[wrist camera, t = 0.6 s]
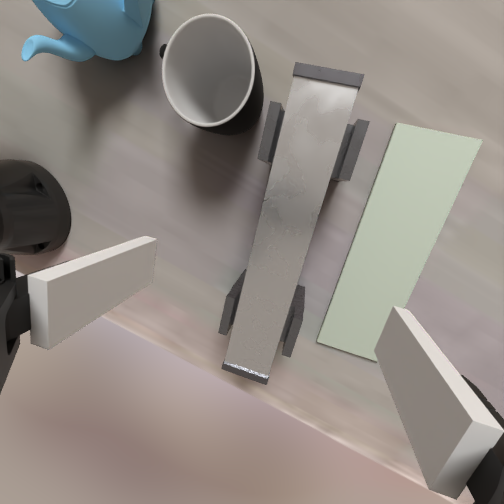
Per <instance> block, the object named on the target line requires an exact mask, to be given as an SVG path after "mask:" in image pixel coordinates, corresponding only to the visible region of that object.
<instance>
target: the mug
mask: <svg viewBox="0 0 504 504" xmlns="http://www.w3.org/2000/svg"><path fill="white" fill-rule="evenodd" d="M160 57H161V58H162V59H163V62H162V81H163V87H164V91H165V94H166V96H167V99H168V101H169V103H170V105H171V106H172V108H173V109H174V110H175V112H176V113H177V114H178V115H179V116H180V117H181V118H183V119H184V120H185V121H187V122H188V123H190V124H192V125H194V126H196V127H198V128H200V129H203V130H206V131H209V132H213V133H217V134H223V135H235V134H240V133H242V132H245V131H247V130H248V129H249V128H251V127H252V126H253V125H254V124H255V122H256V121H257V120H258V118H259V116H260V113H261V111H262V107H263V98H264V93H263V83H262V77H261V73H260V69H259V65H258V62H257V59H256V56H255V53H254V50H253V48H252V46H251V44H250V41H249V40H248V38H247V36H246V35H245V33H244V32H243V31H242V29H241V28H240V27H239V26H238V25H237V24H236V23H234V22H233V21H232V20H230V19H228V18H226V17H224V16H221V15H217V14H202V15H198V16H195V17H193V18H191V19H189V20H187V21H186V22H184V23H183V24H182V25H181V26H180V27H179V28H178V29H177V30H176V31H175V33H174V34H173V35H172V37H171V39H170V41H169V42H168V45H167V44H164V45H162V46H161V48H160Z"/></svg>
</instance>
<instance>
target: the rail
mask: <svg viewBox="0 0 504 504" xmlns="http://www.w3.org/2000/svg"><path fill="white" fill-rule="evenodd" d="M363 77H364V74H358V73H353V72H347V71H342V70H336V69H331V68H325V67H320V66H314V65H309V64H303V63H298V62H295V67H294V71H293V82H292V86H291V90H290V94H289V98H288V102H287V107H286V111H285V115H284V119H283V123H282V127H281V131H280V135H279V139H278V144H277V148H276V152H275V156H274V160H273V164H272V168H271V172H270V176H269V180H268V185H267V189H266V193H265V197H264V201H263V205H262V209H261V213H260V217H259V222H258V226H257V230H256V234H255V238H254V242H253V246H252V250H251V254H250V259H249V263H248V267H247V271H246V275H245V279H244V283H243V287H242V291H241V296H240V300H239V304H238V308H237V312H236V316H235V320H234V324H233V328H232V333H231V337H230V341H229V345H228V349H227V353H226V357H225V360H224V362H223V365H222V369H223V370H226V371H229V372H232V373H234V374H237V375H240V376H243V377H245V378H248V379H251V380H254V381H256V382H259V383H262V384H265V385H267V382H268V379H269V374H270V369H271V366H272V363H273V359H274V356H275V353H276V350H277V347H278V343H279V340H280V337H281V334H282V331H283V327H284V324H285V321H286V318H287V315H288V312H289V308H290V305H291V302H292V299H293V296H294V292H295V289H296V286H297V283H298V280H299V276H300V273H301V270H302V267H303V264H304V260H305V257H306V254H307V251H308V248H309V245H310V241H311V238H312V235H313V232H314V229H315V225H316V222H317V219H318V216H319V213H320V209H321V206H322V203H323V200H324V197H325V193H326V190H327V187H328V184H329V181H330V178H331V174H332V171H333V168H334V165H335V162H336V158H337V155H338V152H339V149H340V146H341V142H342V139H343V136H344V133H345V130H346V126H347V123H348V120H349V117H350V114H351V111H352V107H353V104H354V101H355V98H356V95H357V92H358V91H359V89H360V87H361V84H362V81H363Z"/></svg>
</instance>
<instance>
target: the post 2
mask: <svg viewBox="0 0 504 504" xmlns="http://www.w3.org/2000/svg"><path fill="white" fill-rule="evenodd" d="M284 115H285V111H284V110H283V107H282V104H281V103H277V102H272V101H270V105H269V110H268V114H267V119H266V123H265V128H264V132H263V136H262V141H261V145H260V150H259V154H258V159H259V160H261V161H263V162H265V163H268V164H270V165H272V164H273V160H274V156H275V152H276V148H277V144H278V139H279V135H280V131H281V127H282V123H283V119H284ZM369 122H370V121H365V120H360V119H358V120H357V121H356V122H355V123H354V125H350V124H347V126H346V130H345V133H344V136H343V139H342V142H341V146H340V149H339V152H338V155H337V158H336V162H335V165H334V168H333V171H332V174H331V178H330V179H332V180H336V181H350V179H351V176H352V173H353V170H354V167H355V164H356V161H357V158H358V155H359V152H360V149H361V146H362V143H363V140H364V137H365V134H366V131H367V128H368V125H369Z"/></svg>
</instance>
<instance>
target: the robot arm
mask: <svg viewBox="0 0 504 504" xmlns="http://www.w3.org/2000/svg"><path fill="white" fill-rule="evenodd" d="M70 220H71V218H70V209H69V204H68V201H67V198H66V196H65V193H64V191H63V189H62V188H61V186H60V184H59V183H58V182H57V180H56V179H55V178H54V177H53V176H52V175H51V174H50V173H49V172H48V171H47V170H46V169H44V168H43V167H41V166H40V165H38V164H36V163H33V162H30V161H23V160H1V161H0V393H1V391H2V388H3V386H4V383H5V381H6V378H7V375H8V373H9V370H10V368H11V365H12V363H13V360H14V358H15V355H16V353H17V350H18V348H19V345H20V335H21V334H23V333H25V332H27V331H28V330H30V335H31V344H34V345H36V346H39V347H42V348H45V349H47V350H49V349H51V348H53V347H54V346H56V345H57V344H59V343H60V342H62V341H63V340H65V339H66V338H68V337H69V336H71V335H73V334H74V333H75V332H77V331H79V330H80V329H82V328H83V327H85V326H86V325H88V324H89V323H91V322H93V321H94V320H96V319H97V318H99V317H100V316H102V315H103V314H105V313H106V312H108V311H109V310H111V309H112V308H114V307H115V306H117V305H119V304H120V303H122V302H123V301H125V300H126V299H128V298H129V297H131V296H132V295H134V294H135V293H137V292H138V291H140V290H142V289H143V288H145V287H146V286H148V285H149V284H151V283H152V282H153V274H154V265H155V256H156V247H157V239H155V238H152V237H148V236H143V237H140V238H137V239H134V240H131V241H128V242H125V243H122V244H119V245H116V246H113V247H110V248H107V249H104V250H101V251H98V252H95V253H92V254H89V255H86V256H83V257H80V258H77V259H74V260H71V261H66V262H63V263H60V264H57V265H56V266H51V267H48V268H47V269H42V270H39V271H36V272H33V273H30V274H27V275H24V276H21V277H18V278H16V272H15V257H13V256H12V255H9V254H21V255H35V254H41V253H45V252H48V251H52V250H54V249H56V248H58V247H59V246H60V245H61V244H62V243H63V242H64V241H65V239H66V237H67V235H68V233H69V229H70ZM374 352H375V355H376V357H377V360H378V362H379V365H380V367H381V370H382V372H383V375H384V377H385V380H386V382H387V385H388V387H389V390H390V392H391V395H392V397H393V400H394V402H395V405H396V408H397V410H398V413H399V415H400V418H401V420H402V423H403V425H404V428H405V430H406V433H407V435H408V438H409V440H410V443H411V445H412V448H413V450H414V453H415V456H416V458H417V461H418V463H419V466H420V468H421V471H422V473H423V476H424V478H425V481H426V483H427V486H428V488H429V490H432V491H434V492H437V493H440V494H443V495H445V496H448V497H451V498H454V499H456V500H457V498H458V497H459V495H460V494H461V493H462V491H463V490H464V488H465V487H466V485H467V487H468V489H469V490H470V492H471V494H472V496H473V498H474V500H475V502H474V503H473V504H504V419H503V418H502V417H501V416H500V414H499V413H498V412H496V411H495V410H496V409H495V408H494V407H493V406H492V405H491V403H490V402H488V401H487V399H486V397H485V396H484V395H483V394H482V393H481V391H480V390H479V389H478V388H477V387H476V386H475V385H474V384H473V383H471V382H470V381H469V380H468V379H467V378H466V377H464V376H463V375H460V374H459V373H458V371H457V370H456V369H455V368H454V366H453V365H452V364H451V363H450V361H449V360H448V359H447V358H446V356H445V355H444V354H443V353H442V351H441V350H440V349H439V347H438V346H437V345H436V344H435V342H434V341H433V340H432V339H431V337H430V336H429V335H428V334H427V332H426V331H425V330H424V329H423V327H422V326H421V325H420V324H419V322H418V321H417V320H416V318H415V317H414V316H413V315H412V313H411V312H410V311H409V310H406V309H403V308H399V307H396V306H393V308H392V310H391V312H390V314H389V317H388V319H387V321H386V324H385V326H384V328H383V330H382V333H381V335H380V337H379V340H378V342H377V344H376V347H375V349H374Z"/></svg>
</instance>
